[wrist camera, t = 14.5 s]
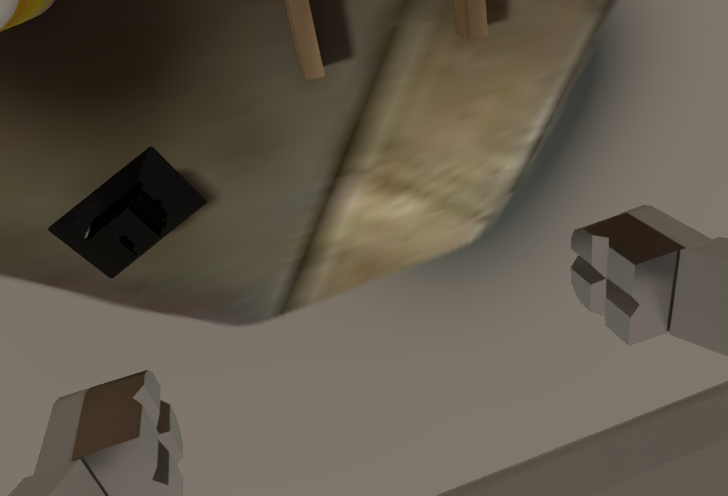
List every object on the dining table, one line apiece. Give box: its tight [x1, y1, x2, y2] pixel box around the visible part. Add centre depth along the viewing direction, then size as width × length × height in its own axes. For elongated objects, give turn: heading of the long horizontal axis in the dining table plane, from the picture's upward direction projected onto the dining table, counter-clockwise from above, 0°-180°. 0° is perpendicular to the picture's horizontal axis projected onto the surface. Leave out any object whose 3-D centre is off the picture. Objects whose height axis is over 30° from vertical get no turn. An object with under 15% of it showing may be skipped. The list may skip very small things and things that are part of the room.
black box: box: [48, 147, 206, 278], centre depth 38 cm, size 12×7×5 cm, turn 125°
